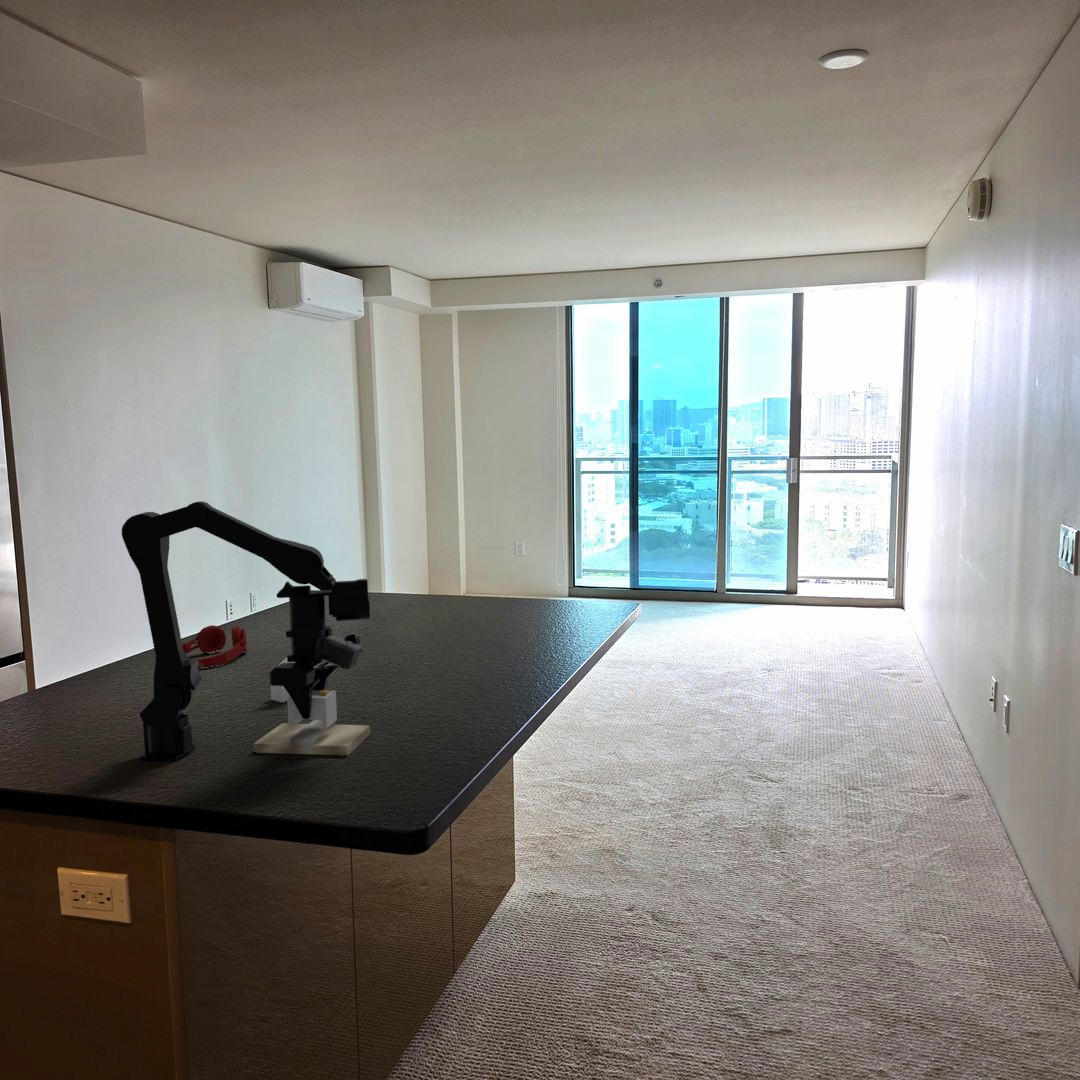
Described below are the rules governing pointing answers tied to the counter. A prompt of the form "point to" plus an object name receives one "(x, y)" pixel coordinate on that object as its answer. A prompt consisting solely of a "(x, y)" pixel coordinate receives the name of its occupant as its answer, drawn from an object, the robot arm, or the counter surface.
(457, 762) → the counter surface
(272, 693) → the white angled block
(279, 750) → the board
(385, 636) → the counter surface
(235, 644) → the headphones
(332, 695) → the block
